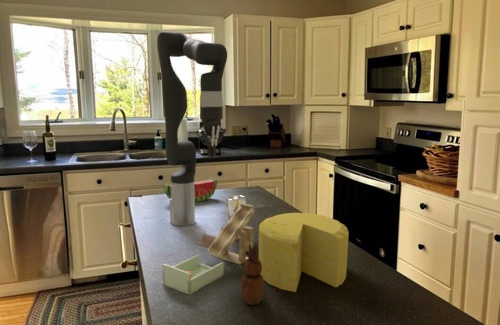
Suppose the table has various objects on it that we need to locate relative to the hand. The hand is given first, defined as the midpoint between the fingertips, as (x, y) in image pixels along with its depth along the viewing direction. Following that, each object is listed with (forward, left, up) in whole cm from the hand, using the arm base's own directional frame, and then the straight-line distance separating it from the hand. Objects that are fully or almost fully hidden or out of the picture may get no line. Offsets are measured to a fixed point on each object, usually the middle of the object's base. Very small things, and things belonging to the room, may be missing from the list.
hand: (211, 156), depth 136 cm
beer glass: (+3, +10, -31) cm, 33 cm away
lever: (+11, -6, -22) cm, 26 cm away
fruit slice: (-43, +35, -31) cm, 64 cm away
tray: (+14, -24, -31) cm, 42 cm away
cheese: (+36, -1, -31) cm, 48 cm away
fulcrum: (+14, -3, -31) cm, 34 cm away
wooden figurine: (+34, -24, -31) cm, 52 cm away
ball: (+14, -27, -29) cm, 42 cm away
